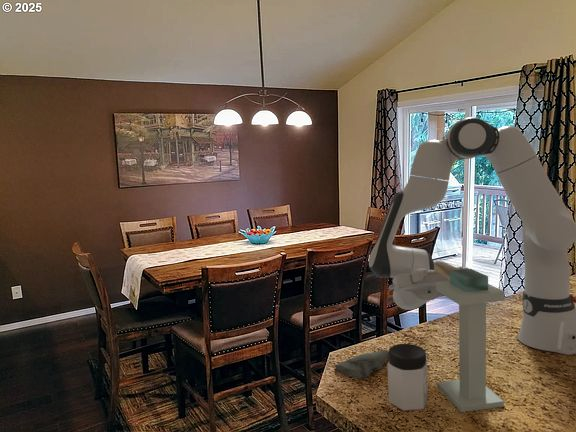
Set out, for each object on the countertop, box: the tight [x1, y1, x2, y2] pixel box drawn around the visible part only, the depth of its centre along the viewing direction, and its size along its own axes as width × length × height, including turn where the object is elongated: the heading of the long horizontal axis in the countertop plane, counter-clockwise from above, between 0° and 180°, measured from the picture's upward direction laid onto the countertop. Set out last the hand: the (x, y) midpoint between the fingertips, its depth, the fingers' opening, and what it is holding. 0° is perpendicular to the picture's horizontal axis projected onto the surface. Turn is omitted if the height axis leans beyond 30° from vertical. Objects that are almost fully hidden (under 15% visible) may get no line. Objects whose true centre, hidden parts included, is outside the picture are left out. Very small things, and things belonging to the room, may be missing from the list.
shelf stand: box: [436, 281, 506, 413], centre depth 101 cm, size 10×11×26 cm
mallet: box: [434, 260, 489, 292], centre depth 104 cm, size 5×18×3 cm, turn 8°
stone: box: [334, 349, 389, 380], centre depth 121 cm, size 17×3×10 cm
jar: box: [387, 343, 429, 411], centre depth 102 cm, size 9×8×12 cm
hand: (443, 271), depth 111 cm, fingers open, 8 cm apart
